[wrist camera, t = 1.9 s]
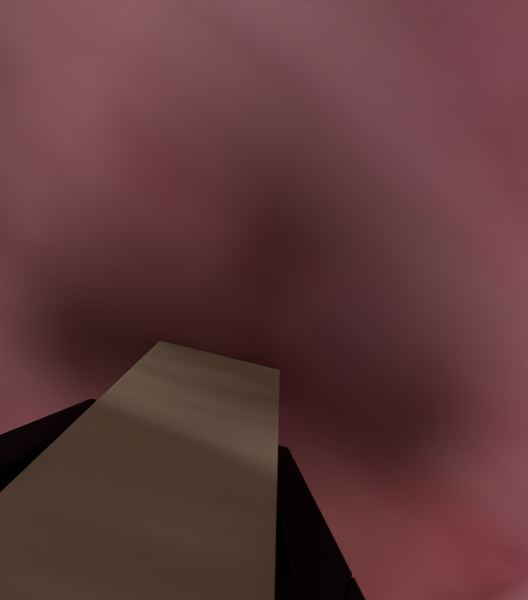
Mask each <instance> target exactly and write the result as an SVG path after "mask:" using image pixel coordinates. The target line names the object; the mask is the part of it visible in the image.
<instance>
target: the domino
mask: <svg viewBox="0 0 528 600" xmlns="http://www.w3.org/2000/svg"><path fill="white" fill-rule="evenodd" d="M279 379H280V370H277V369H273V368H269V367H265V366H261V365H257V364H253V363H249V362H245V361H241V360H237V359H233V358H229V357H225V356H221V355H217V354H213V353H209V352H205V351H201V350H197V349H193V348H189V347H184V346H180V345H176V344H172V343H168V342H164V341H159V342H158V343H157V344H156V345H155V346H154V347H153V348H152V349H151V350H150V351H148V352H147V353H146V354H145V355H144V356H143V357H142V358H141V359H140V360H139V361H138V362H137V363H136V364H135V365H134V366H133V367H132V368H131V369H130V370H128V371H127V372H126V373H125V374H124V375H123V376H122V377H121V378H120V379H119V380H118V381H117V382H116V383H115V384H114V385H113V386H112V387H111V388H110V389H108V390H107V391H106V392H105V393H104V394H103V395H102V396H101V397H100V398H99V399H98V400H97V401H96V402H95V403H94V404H93V405H92V406H91V407H90V408H89V409H87V410H86V411H85V412H84V413H83V414H82V415H81V416H80V417H79V418H78V419H77V420H76V421H75V422H74V423H73V424H72V425H71V426H70V427H69V428H67V429H66V430H65V431H64V432H63V433H62V434H61V435H60V436H59V437H58V438H57V439H56V440H55V441H54V442H53V443H52V444H51V445H50V446H49V447H47V448H46V449H45V450H44V451H43V452H42V453H41V454H40V455H39V456H38V457H37V458H36V459H35V460H34V461H33V462H32V463H31V464H30V465H29V466H27V467H26V468H25V469H24V470H23V471H22V472H21V473H20V474H19V475H18V476H17V477H16V478H15V479H14V480H13V481H12V482H11V483H10V484H9V485H8V486H6V487H5V488H4V489H3V490H2V491H1V492H0V600H274V593H275V550H276V508H277V465H278V422H279Z"/></svg>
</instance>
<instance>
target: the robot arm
mask: <svg viewBox="0 0 528 600" xmlns="http://www.w3.org/2000/svg"><path fill="white" fill-rule="evenodd" d="M96 401H97V400H96V399H89V400H86V401H84V402H81V403H79V404H76V405H74V406H71V407H69V408H66V409H64V410H61V411H59V412H56V413H54V414H51V415H49V416H46V417H44V418H41V419H39V420H36V421H34V422H31V423H29V424H26V425H24V426H21V427H19V428H16V429H14V430H11V431H9V432H6V433H4V434H1V435H0V492H1V491H2V490H3V489H4V488H5V487H6V486H8V485H9V484H10V483H11V482H12V481H13V480H14V479H15V478H16V477H17V476H18V475H19V474H20V473H21V472H22V471H23V470H24V469H25V468H26V467H27V466H29V465H30V464H31V463H32V462H33V461H34V460H35V459H36V458H37V457H38V456H39V455H40V454H41V453H42V452H43V451H44V450H45V449H46V448H47V447H49V446H50V445H51V444H52V443H53V442H54V441H55V440H56V439H57V438H58V437H59V436H60V435H61V434H62V433H63V432H64V431H65V430H66V429H67V428H69V427H70V426H71V425H72V424H73V423H74V422H75V421H76V420H77V419H78V418H79V417H80V416H81V415H82V414H83V413H84V412H85V411H86V410H87V409H89V408H90V407H91V406H92V405H93V404H94V403H95V402H96ZM351 577H352V573H351V571H350V569H349V567H348V565H347V563H346V561H345V559H344V557H343V555H342V553H341V551H340V549H339V547H338V545H337V543H336V541H335V539H334V537H333V535H332V533H331V531H330V529H329V527H328V525H327V523H326V521H325V519H324V517H323V515H322V513H321V512H320V510H319V508H318V506H317V504H316V502H315V500H314V498H313V496H312V494H311V492H310V490H309V488H308V486H307V484H306V482H305V480H304V478H303V476H302V474H301V472H300V470H299V468H298V466H297V464H296V462H295V460H294V458H293V456H292V454H291V452H290V450H289V449H288V448H287V447H285V446H281V445H278V465H277V508H276V550H275V593H274V600H365V598H364V596H363V594H362V592H361V590H360V588H359V586H358V584H357V582H356V580H355V578H354V577H352V578H351Z"/></svg>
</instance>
